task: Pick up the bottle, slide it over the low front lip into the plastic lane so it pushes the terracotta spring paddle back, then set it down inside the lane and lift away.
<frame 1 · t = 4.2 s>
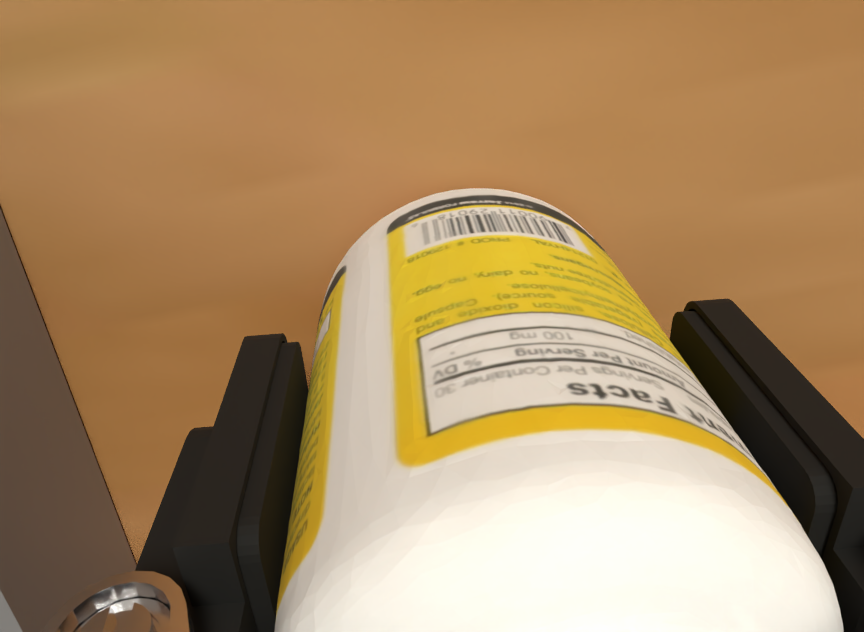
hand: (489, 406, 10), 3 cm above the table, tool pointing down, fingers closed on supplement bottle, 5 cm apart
supplement bottle: (470, 317, 13), on the table, touching gripper
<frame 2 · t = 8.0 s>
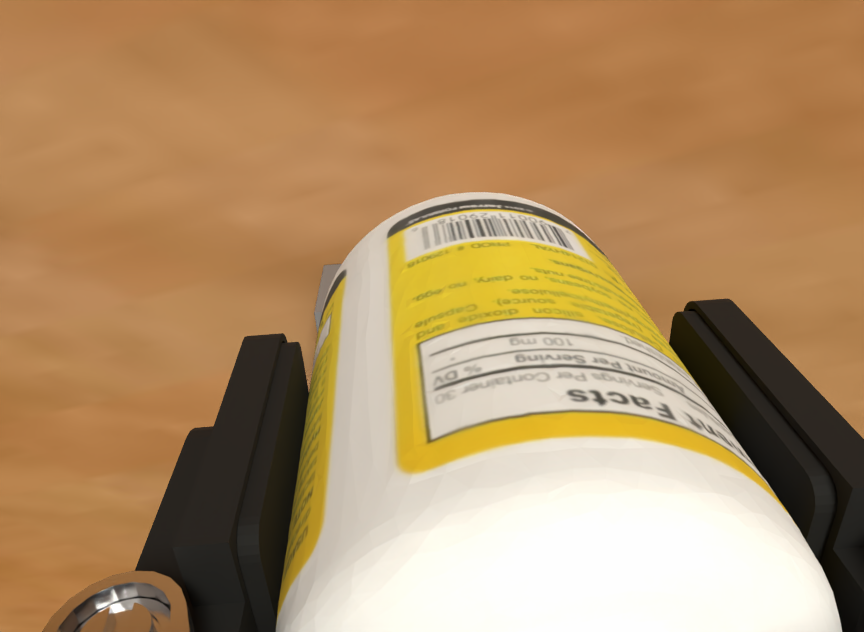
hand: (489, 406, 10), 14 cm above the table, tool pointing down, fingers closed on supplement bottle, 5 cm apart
pusher lane: (459, 468, 30), on the table
supplement bottle: (470, 320, 13), point 11 cm above the table, touching gripper
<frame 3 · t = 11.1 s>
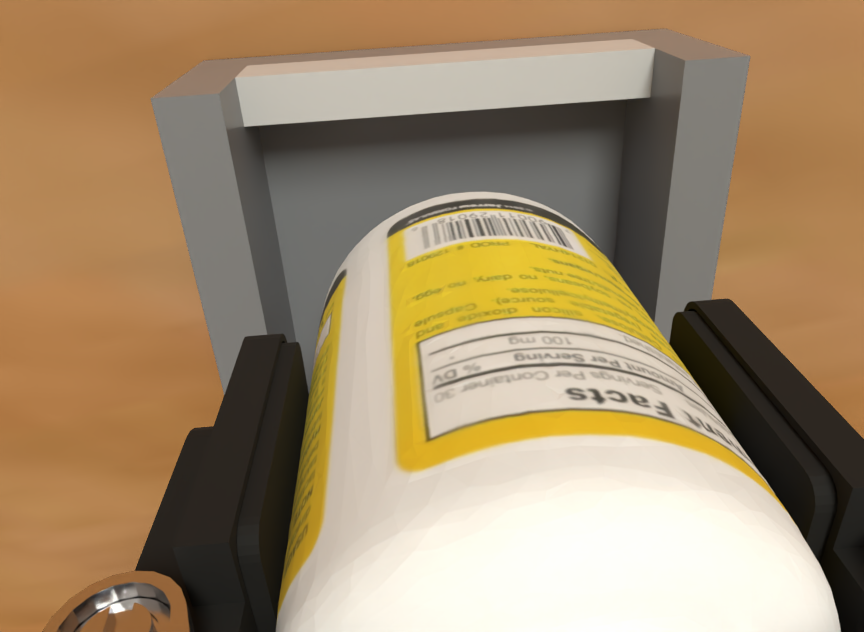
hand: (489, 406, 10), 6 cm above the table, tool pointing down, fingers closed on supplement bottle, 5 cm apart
pusher lane: (456, 446, 18), on the table
supplement bottle: (470, 319, 13), point 3 cm above the table, touching gripper, spring paddle
when the fingers open (4 cm above the table, at t = 12.1 s): supplement bottle stays where it is, resting on pusher lane, spring paddle.
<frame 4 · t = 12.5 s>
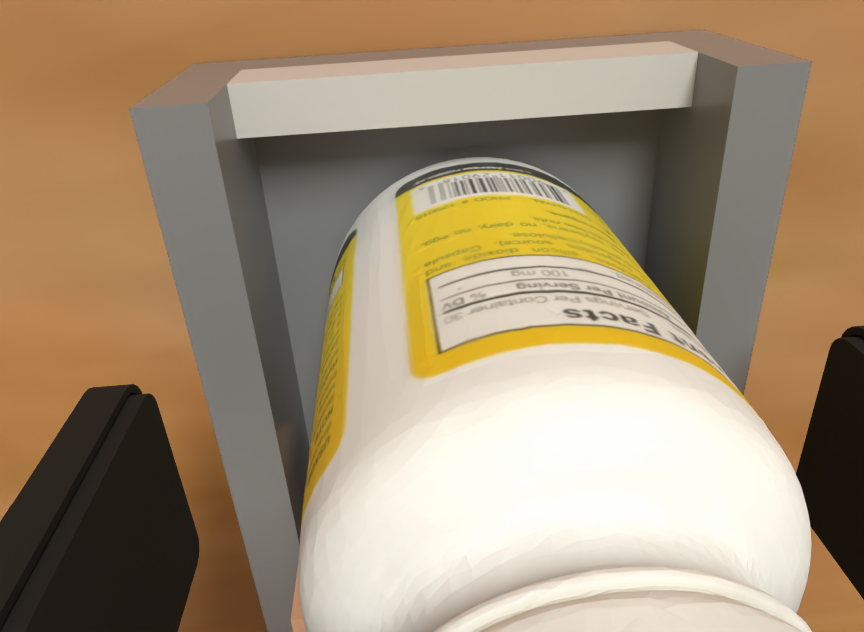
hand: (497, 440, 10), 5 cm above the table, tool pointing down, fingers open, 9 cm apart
spring paddle: (487, 570, 13), point 4 cm above the table, slide at 5.5 cm, touching supplement bottle
pusher lane: (468, 477, 17), on the table
supplement bottle: (472, 283, 13), point 1 cm above the table, touching pusher lane, spring paddle
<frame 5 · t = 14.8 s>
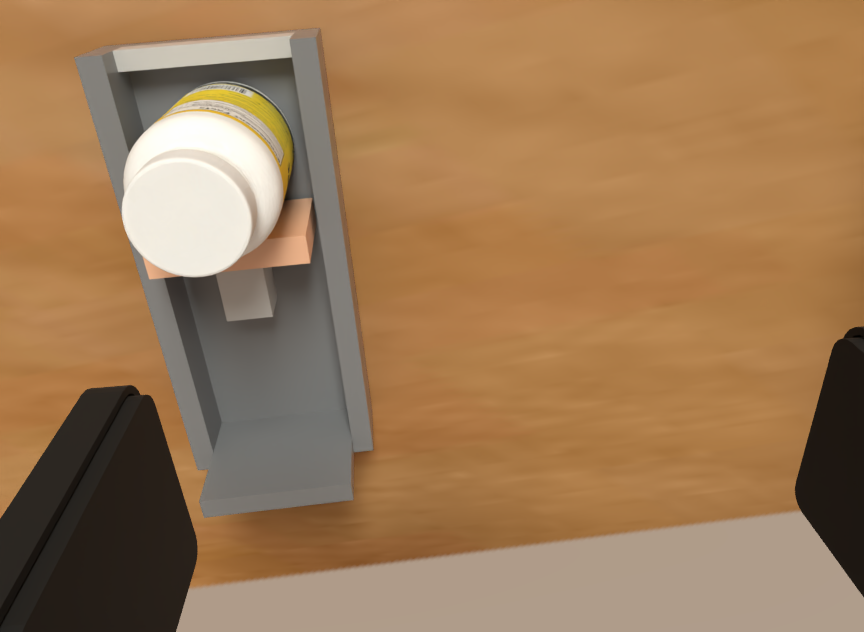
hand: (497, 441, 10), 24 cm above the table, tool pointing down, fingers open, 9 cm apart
spring paddle: (243, 267, 30), point 4 cm above the table, slide at 5.5 cm, touching supplement bottle
pusher lane: (258, 255, 34), on the table
supplement bottle: (235, 142, 30), point 1 cm above the table, touching pusher lane, spring paddle
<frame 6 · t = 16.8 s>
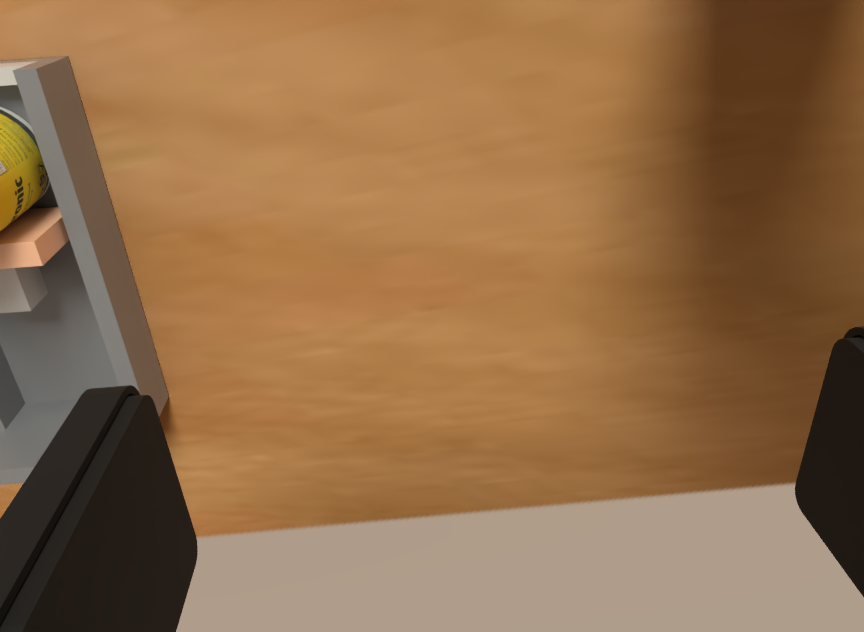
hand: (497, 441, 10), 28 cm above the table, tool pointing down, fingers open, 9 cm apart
spring paddle: (3, 267, 34), point 4 cm above the table, slide at 5.5 cm, touching supplement bottle
pusher lane: (42, 254, 38), on the table
supplement bottle: (0, 155, 34), point 1 cm above the table, touching pusher lane, spring paddle
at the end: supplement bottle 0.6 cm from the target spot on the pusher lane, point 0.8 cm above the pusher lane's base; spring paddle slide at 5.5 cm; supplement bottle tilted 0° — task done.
